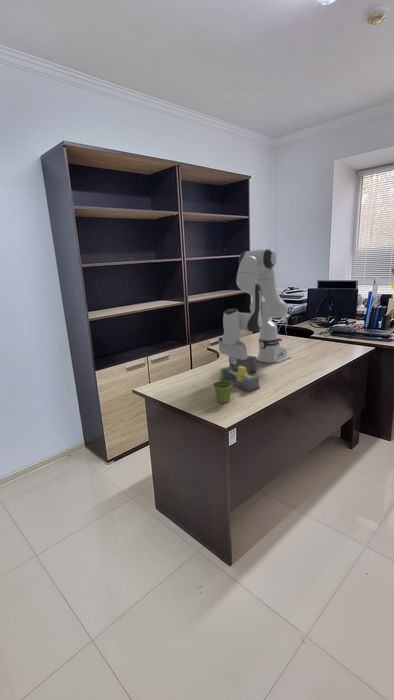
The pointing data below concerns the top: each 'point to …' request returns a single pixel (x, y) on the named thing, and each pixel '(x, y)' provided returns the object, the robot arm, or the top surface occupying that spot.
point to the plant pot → (223, 391)
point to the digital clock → (245, 364)
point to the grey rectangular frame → (247, 385)
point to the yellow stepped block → (241, 373)
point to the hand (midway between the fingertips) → (233, 363)
